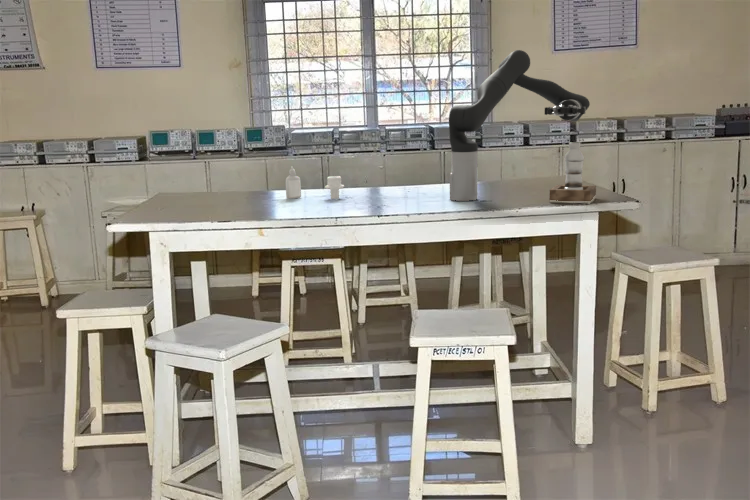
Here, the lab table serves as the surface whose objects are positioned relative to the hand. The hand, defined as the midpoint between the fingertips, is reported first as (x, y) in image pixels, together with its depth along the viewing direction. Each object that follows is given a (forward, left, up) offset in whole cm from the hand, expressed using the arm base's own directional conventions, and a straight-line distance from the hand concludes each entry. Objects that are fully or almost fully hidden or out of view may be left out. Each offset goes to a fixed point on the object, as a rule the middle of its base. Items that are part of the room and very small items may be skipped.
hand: (561, 111), depth 265 cm
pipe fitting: (-78, -28, -30) cm, 88 cm away
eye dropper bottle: (-94, -31, -30) cm, 104 cm away
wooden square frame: (+7, -14, -30) cm, 34 cm away
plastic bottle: (+7, -13, -30) cm, 34 cm away
